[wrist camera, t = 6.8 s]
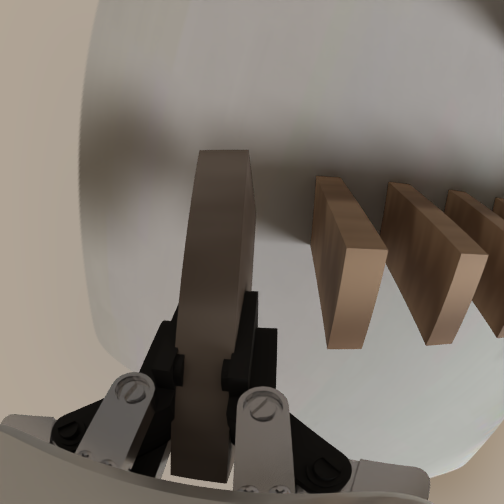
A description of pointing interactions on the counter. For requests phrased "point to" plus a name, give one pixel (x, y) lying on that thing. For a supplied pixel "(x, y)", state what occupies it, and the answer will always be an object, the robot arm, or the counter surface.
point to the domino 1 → (212, 310)
